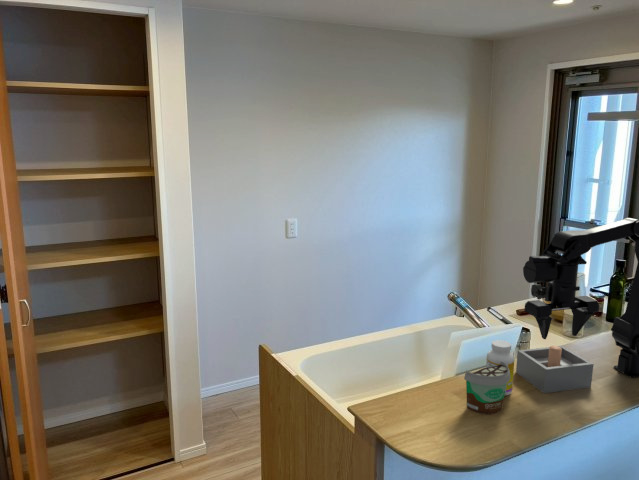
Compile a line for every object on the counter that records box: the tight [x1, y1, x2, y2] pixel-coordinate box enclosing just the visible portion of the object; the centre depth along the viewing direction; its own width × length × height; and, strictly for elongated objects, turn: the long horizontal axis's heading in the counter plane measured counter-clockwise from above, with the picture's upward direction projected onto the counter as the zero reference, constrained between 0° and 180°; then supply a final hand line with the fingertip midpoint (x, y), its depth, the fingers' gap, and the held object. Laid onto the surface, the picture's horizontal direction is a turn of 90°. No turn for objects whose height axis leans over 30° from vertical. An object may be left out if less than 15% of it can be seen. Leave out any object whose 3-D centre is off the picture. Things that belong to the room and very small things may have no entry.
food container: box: [464, 361, 510, 415], centre depth 122 cm, size 12×6×10 cm, turn 117°
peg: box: [547, 345, 562, 367], centre depth 137 cm, size 3×3×8 cm
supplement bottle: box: [485, 339, 515, 397], centre depth 131 cm, size 7×7×13 cm
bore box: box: [515, 345, 594, 394], centre depth 138 cm, size 14×12×6 cm
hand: (559, 337), depth 137 cm, fingers open, 9 cm apart
